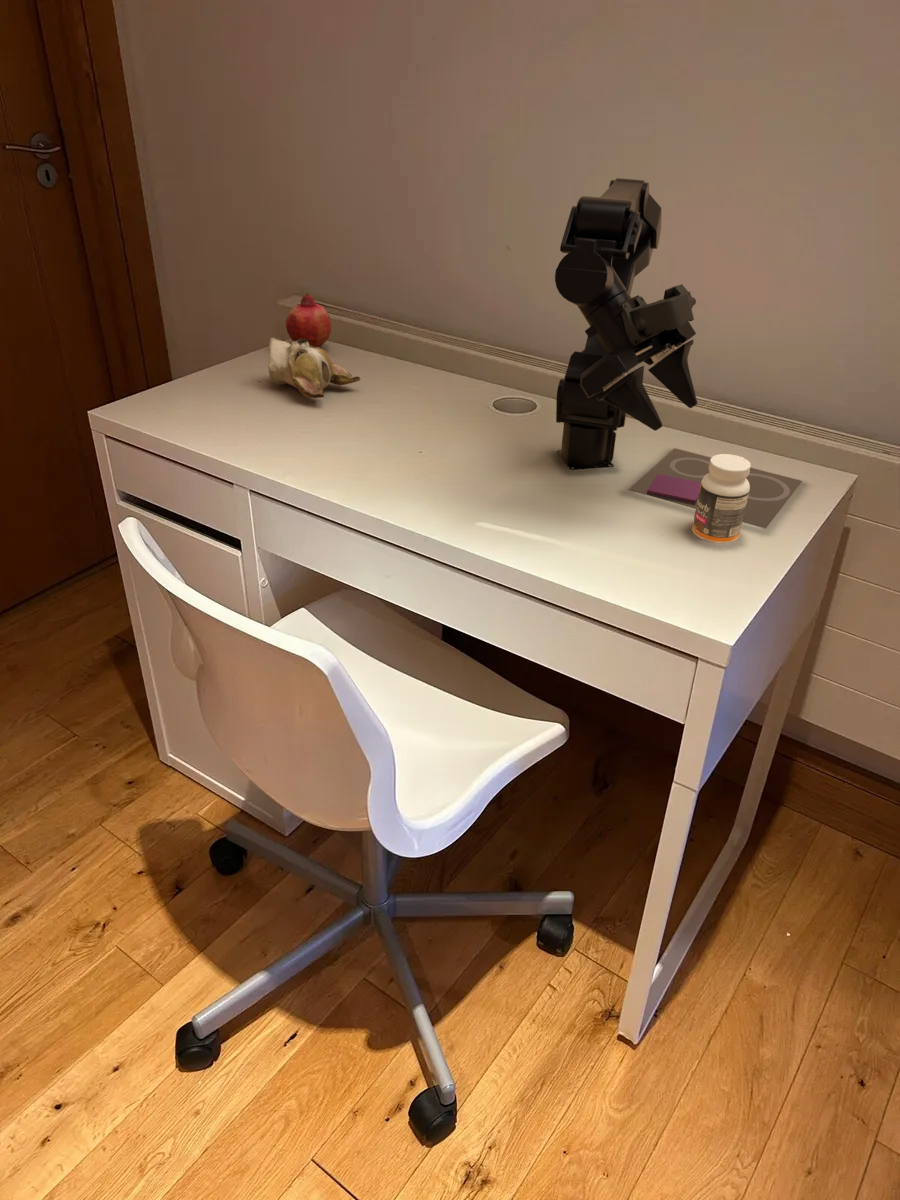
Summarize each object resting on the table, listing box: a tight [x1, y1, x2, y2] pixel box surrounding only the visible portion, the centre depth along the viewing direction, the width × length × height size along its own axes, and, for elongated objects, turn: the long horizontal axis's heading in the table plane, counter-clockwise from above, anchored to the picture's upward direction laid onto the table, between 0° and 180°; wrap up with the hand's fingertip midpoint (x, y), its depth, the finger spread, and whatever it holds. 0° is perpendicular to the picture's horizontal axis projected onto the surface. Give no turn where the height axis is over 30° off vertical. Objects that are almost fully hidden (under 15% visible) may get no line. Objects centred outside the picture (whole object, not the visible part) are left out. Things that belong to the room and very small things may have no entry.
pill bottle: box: [691, 453, 752, 544], centre depth 112 cm, size 6×6×10 cm
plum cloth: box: [647, 474, 701, 503], centre depth 124 cm, size 6×6×1 cm
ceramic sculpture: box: [267, 337, 361, 399], centre depth 151 cm, size 11×9×15 cm
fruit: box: [285, 292, 332, 348], centre depth 167 cm, size 8×8×10 cm
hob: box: [628, 447, 803, 529], centre depth 126 cm, size 16×18×1 cm
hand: (677, 417), depth 111 cm, fingers open, 9 cm apart
